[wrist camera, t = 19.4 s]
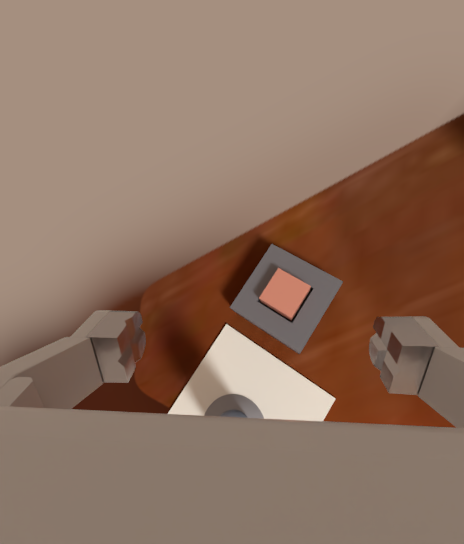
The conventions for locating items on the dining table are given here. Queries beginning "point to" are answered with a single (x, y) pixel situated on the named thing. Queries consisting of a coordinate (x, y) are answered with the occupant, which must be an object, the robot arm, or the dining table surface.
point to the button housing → (308, 313)
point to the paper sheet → (249, 384)
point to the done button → (285, 294)
